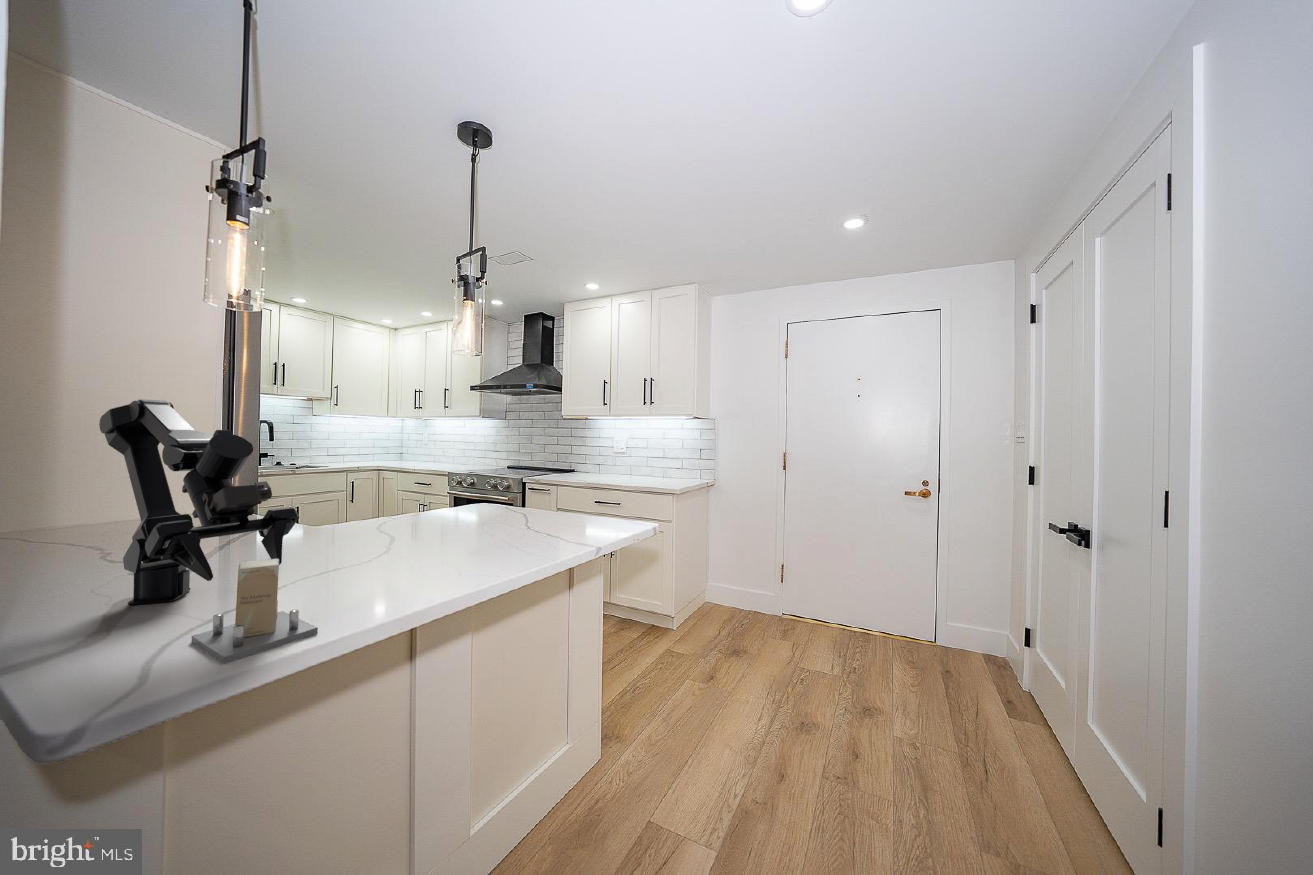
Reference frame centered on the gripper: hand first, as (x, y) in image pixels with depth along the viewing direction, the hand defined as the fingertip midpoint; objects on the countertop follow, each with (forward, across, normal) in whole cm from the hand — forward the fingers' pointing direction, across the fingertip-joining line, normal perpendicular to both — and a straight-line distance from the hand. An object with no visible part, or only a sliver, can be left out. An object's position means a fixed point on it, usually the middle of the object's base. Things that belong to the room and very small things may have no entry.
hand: (246, 571), depth 77 cm
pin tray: (+10, 0, +5) cm, 11 cm away
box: (+9, 0, +4) cm, 10 cm away
